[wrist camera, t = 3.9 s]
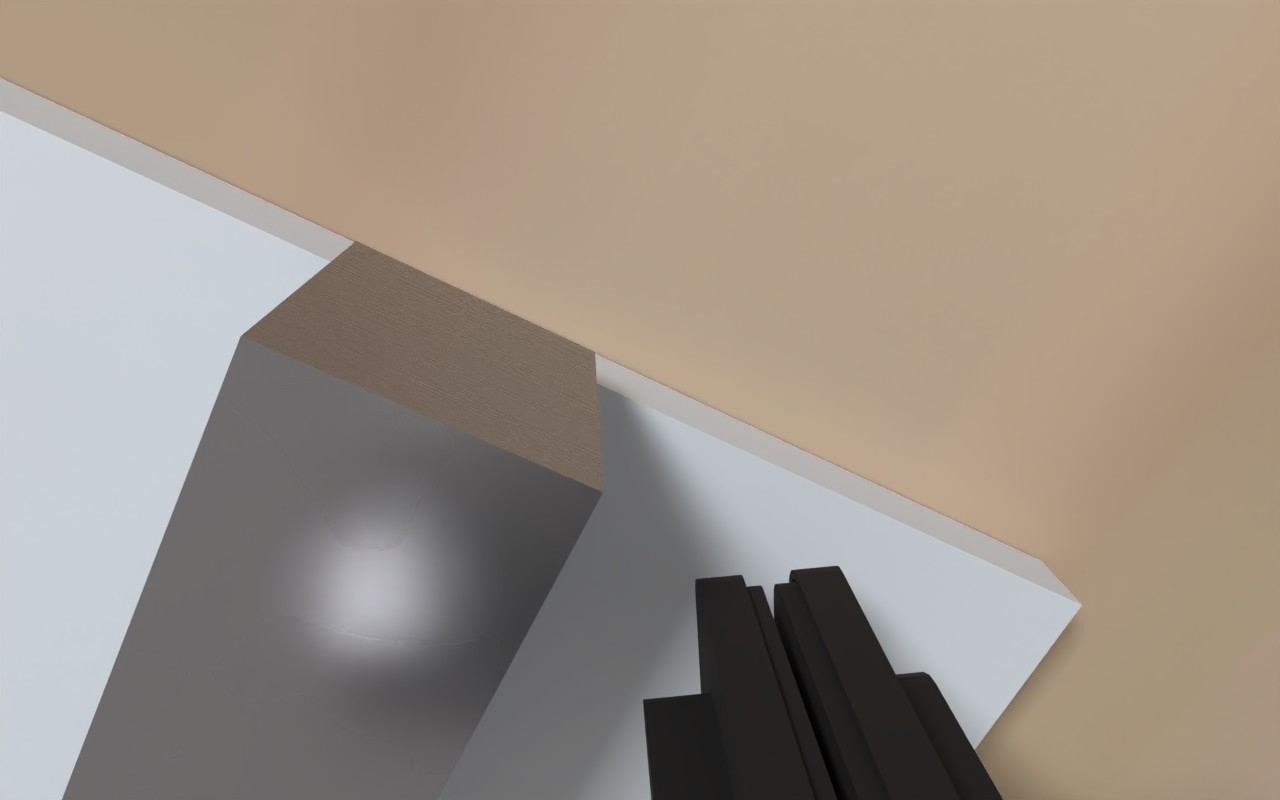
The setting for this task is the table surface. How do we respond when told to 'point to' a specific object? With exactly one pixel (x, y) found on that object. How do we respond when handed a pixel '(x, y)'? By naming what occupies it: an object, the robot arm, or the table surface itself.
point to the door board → (585, 588)
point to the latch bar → (351, 548)
